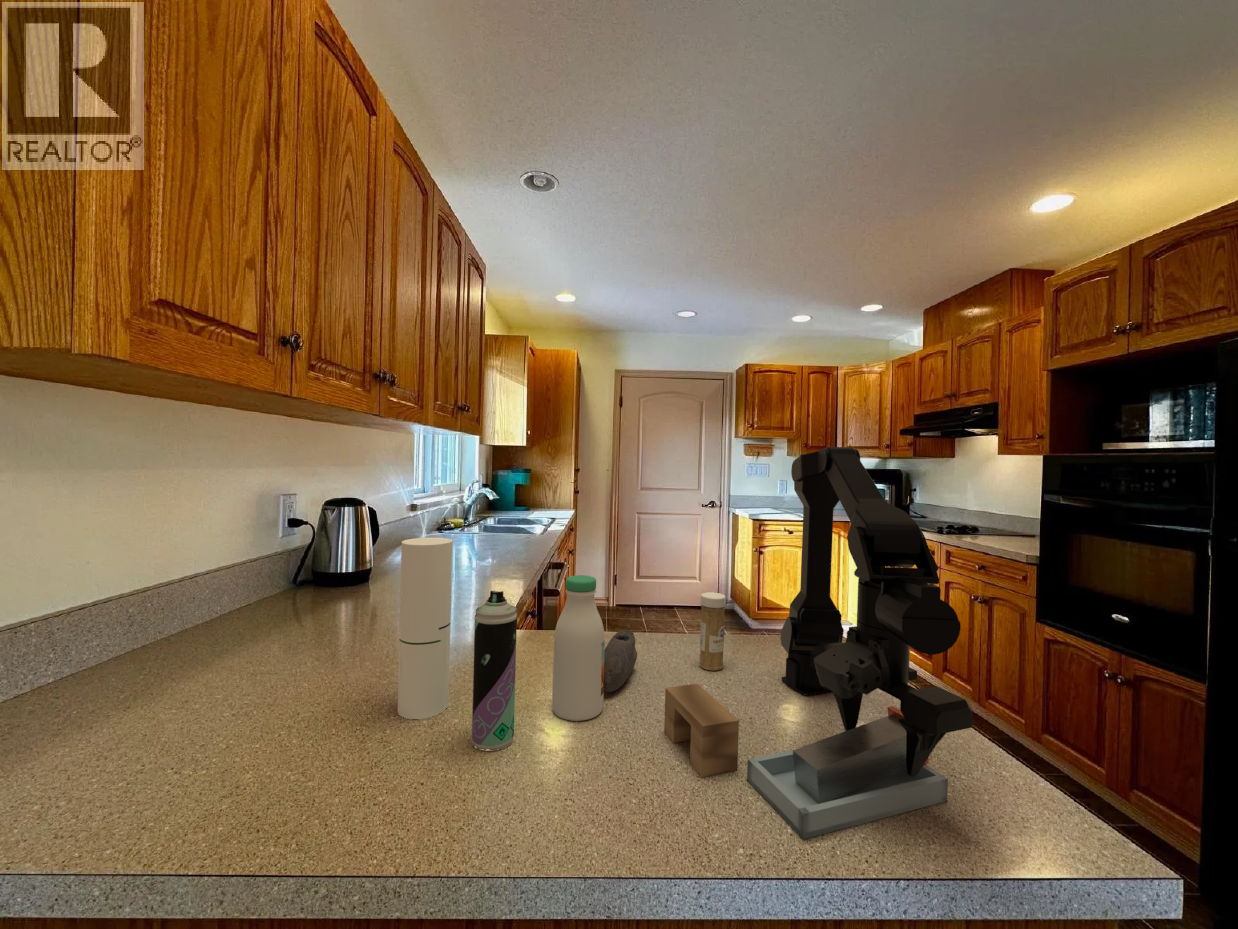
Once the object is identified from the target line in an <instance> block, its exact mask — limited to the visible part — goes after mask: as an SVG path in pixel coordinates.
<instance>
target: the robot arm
mask: <svg viewBox="0 0 1238 929" xmlns="http://www.w3.org/2000/svg"><path fill="white" fill-rule="evenodd" d="M868 472H869V471H867V469H866V467H865V466H864V464H863V463H862V461H861V454H860V451H859V450H858V449H857V448H853V447H849V446H847V447H846V446H826V447H823V448H820V449H819V450H818V451H814V452H813V451H812V452H810V453H801V454H800V455H799V456H798V457H797V458H795V459H794V460H793V462H792V464H791V479H792V481H793V485H794V487H793V490H794V492H795V493H796V495H797V497H798V499H799V500H800V502H801V505H802V506H803V509H802V510H803V513H802V514H803V515H802V537H801V538H802V542H801V566H800V567H801V569H800V589H799V592H798V593H797V595H796V596H795V597H794V598H793V600H792V601H791V602H790V605H789V614H788V616H787V617H786V619H785V621H784V623H783V626H782V627H781V630H780V645H781V646H782V647H783V649H784V650H785V652H786V653H787V657H786V658H785V676H782V677H781V681H782V682H783V683H785V684H787V685H788V686H790V687H791V688H793V689H794V690H796V691H797V692H799V693H800V694H802V695H804V696H813V695H819V694H825V693H833V695H834V699H835V702H836V704H837V707H838V711H839V714H840V719H841V721H842V725H843V728H844V732H845V731H848V730H850V729H853V728H856V727H857V725H858V721H859V717H860V716H859V715H860V712H861V706H862V701H863V700H862V699H863V695H867V696H868V695H870V694H871V693H872V692H873V691H875V690H877V689H879V690H880V691H882V692H884V693H886V694H888V695H890V696H892V697H893V698H895V699H898V700H899V702H900V704H899V705H900V707H899V710H900V711H901V712H902V714H903V716H904V718H903V719H898V721H899V722H900V724H901V725H902V726H903V728H904V729H905V730H906V766H907V774H908V775H909V776H916V775H917V774H918V773H919V771H920V770H921V768H922V767H923V765H924V763H925V762H926V760H927V759H928V757H930V755H931V754H932V752H933V751H934V749H935V748H936V747H937V745H938V743H939V742H940V741H941V740H942V739H943V738H944V737H945V735H947V734H948V733H952V732H957V731H963V730H967V729H972V728H973V718H974V717H973V716H974V715H973V714H974V712H973V708H972V705H971V704H970V703H969V702H968V701H967V699H965V698H963V697H960V696H959V695H956V694H954V693H953V692H950V691H949V690H946V689H943V688H942V687H939V686H938V685H937V686H935V685H934V686H929V687H924V688H918V689H917V688H916V687H913V686H911V685H909V682H910V681H916V680H918V670H916V669H914V668H912V667H910V654H911V653H910V652H911V651H910V649H911V648H912V649H913V650H915V651H916V652H919V653H921V654H925V655H933V656H934V655H940V654H943V653H944V652H947V651H948V650H950V649H951V648H953V646H954V645H955V644H956V642H957V640H958V638H959V636H960V634H961V622H960V620H959V617H958V614H957V613H956V611H955V609H954V608H953V607H952V606H951V604H949V603H948V602H946V601H945V600H944V599H942V598H941V591H942V590H941V587H940V586H938V585H939V584H940V577H939V574H938V571H939V569H940V568H939V567H938V566H939V565H938V564H937V562H936V560H935V558H934V556H933V554H932V552H931V550H930V548H929V545H928V542H927V539H926V536H925V534H924V532H923V531H922V529H921V527H920V525H919V524H918V523H917V521H915V520H914V519H913V518H912V517H911V516H910V515H909V514H908V513H907V512H906V511H905V510H903V509H902V508H899V507H897V506H895V505H893V504H890V503H888V502H887V500H886V499H885V498H884V496H883V495H882V492H881V491H880V490H879V488H878V487H877V485H876V483H875V482H874V480H873V478H872V477H871V476H870V474H869V473H868ZM839 502H840V504H841V506H842V508H843V510H844V512H845V513H846V515H847V517H848V520H849V522H850V525H849V529H848V532H847V536H846V539H847V547H848V551H849V554H850V555H851V558H852V559H853V562H854V564H855V567H856V569H855V570H854V571H853V574H854V576H855V577H856V578H858V581H857V606H856V607H857V610H856V625H855V626H849V627H848V630H847V631H846V639H845V642H843V637H844V633H845V632H844V631H845V629H844V627H843V624H842V614H841V613H842V612H840V610H839V609H838V608H837V606H836V604H835V603H834V600H832V598H831V587H832V585H831V584H832V583H831V580H832V560H833V559H832V558H833V557H832V556H833V555H832V554H833V536H834V535H833V529H834V511H835V510H834V509H835V507H836V506H837V505H838V503H839ZM914 566H916V567H914Z"/></svg>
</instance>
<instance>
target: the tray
mask: <svg viewBox="0 0 1238 929" xmlns="http://www.w3.org/2000/svg"><path fill="white" fill-rule="evenodd" d="M793 750H794V749H792V750H786V751H781V752H777V753H776V752H775V753H771V754H765V755H760V756H756V757H755V756H754V757H750V758H747V771H746V774H747V776H746V781H747V782H748V784H750V785H751V786H752V787H753V788H754V789H755V790H756V792H757V793H759V795H760V796H761V797H762V798H763V799H764V800H765V801H766V802H767V803H768V804H769V806H771V808H773V809H774V811H775V812H776V813H777V814H778V815H779V816H780V817H781V818H782V819H783V821H785V822H786V823H787V824H788V825H789V826H790V827H791V829H793V831H794V832H795V833H796V834H797V835H798V836H799V837H800V838H801V839H802V840H807V839H810V838H814V837H817V836H822V835H825V834H829V833H832V832H836V831H840V830H843V829H847V828H850V827H855V826H858V825H859V826H860V825H862V824H866V823H869V822H874V821H878V820H881V819H885V818H888V817H893V816H896V815H901V814H904V813H907V812H911V811H916V810H918V809H922V808H926V807H930V806H934V805H938V804H941V803H945V802H946V803H947V802H948V792H949V791H948V789H949V788H948V787H949V778H948V777H947V776H945V775H943V774H942V773H940V772H939V771H937V770H935V769H934V768H933V767H930V766H929V765H928V764H926V765H923V767H922V768H921V770H920V771H919V773H918V774H917V775H916V776H909V775H908V774H907V769H906V770H904V771H901V772H899V773H896V774H894V775H891V776H889V777H886V778H884V779H882V780H879V781H877V782H874V783H872V784H869V785H867V786H865V787H862V788H860V789H857V790H855V791H852V792H850V793H848V794H845V795H843V796H840V797H838V798H835V799H833V800H830V801H828V802H825V803H821V804H818V803H817V802H816V801H815V800H814V799H813V798H811V797H810V796H809V795H808V794H807V793H806V792H805V791H804V790H803V789H802V788H801V787H799V786H798V785H797V784H796V781H795V770H794V758H793Z"/></svg>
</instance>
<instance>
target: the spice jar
mask: <svg viewBox="0 0 1238 929" xmlns="http://www.w3.org/2000/svg"><path fill="white" fill-rule="evenodd" d="M726 601H727V596H725V595H724V594H723V593H718V592H712V591H711V592H710V591H708V592H703V593H701V594H700V605H701V606H700V607H701V610H700V611H701V612H700V616H701V617H700V627H699V628H700V629H699V630H700V632H699V633H700V634H699V635H700V636H699V649H700V650H699V651H700V652H699V656H700V657H699V662H698V663H699V667H700V668H702V669H704V670H707V671H711V672H713V671H721V670H722V669H724V667H725V665H724V648H725V647H724V646H725V607H726V604H727V603H726Z"/></svg>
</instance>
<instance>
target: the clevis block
mask: <svg viewBox="0 0 1238 929" xmlns="http://www.w3.org/2000/svg"><path fill="white" fill-rule="evenodd" d="M664 694H665V699H664V726H663V728H664V729H663V730H664V731H663V732H664V733H665V734H666V736H667V737H668V738H669V740H670V741H671V742H672V744H677V743H682V742H683V743H684V742H687V741H690V747H689V748H690V749H689V750H690V752H689V753H690V754H689V755H690V756H689V764H690V765H691V766H692V768H693V769H694V770H695V771H696V773H697V774H698V775H699V776H700V777H701V778H705V777H710V776H715V775H722V774H725V773H726V774H727V773H730V772H736V771H738V768H739V767H738V766H739V765H738V764H739V762H738V760H739V731H740V730H739V728H740V727H739V726H740V720H739V719H738V718H737V717H736V716H735V715H734V714H732V713H731V712H730V711H729V710H728V709H727V708H726V707H725V706H723V705H722V704H721V703H720V702H719V701H718V700H717V699H715V698H714V697H713V696H712V695H711V694H710V693H709V692H708V691H707V690H705V689H704V688H703V687H702V686H701V685H700V684H698V683H693V684H683V685H676V686H669V687H665V693H664Z"/></svg>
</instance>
